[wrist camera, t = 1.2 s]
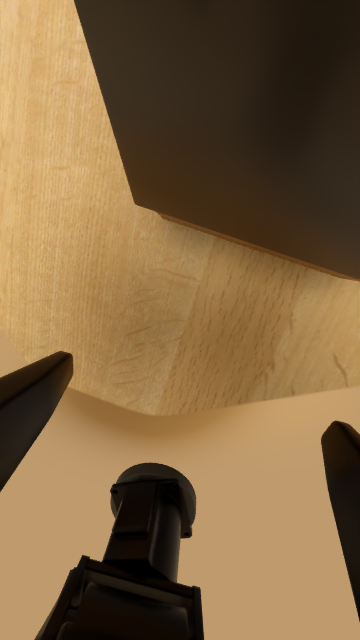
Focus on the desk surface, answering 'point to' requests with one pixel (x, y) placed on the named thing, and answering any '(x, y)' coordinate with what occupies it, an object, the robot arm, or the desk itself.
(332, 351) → the desk surface
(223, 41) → the lid
